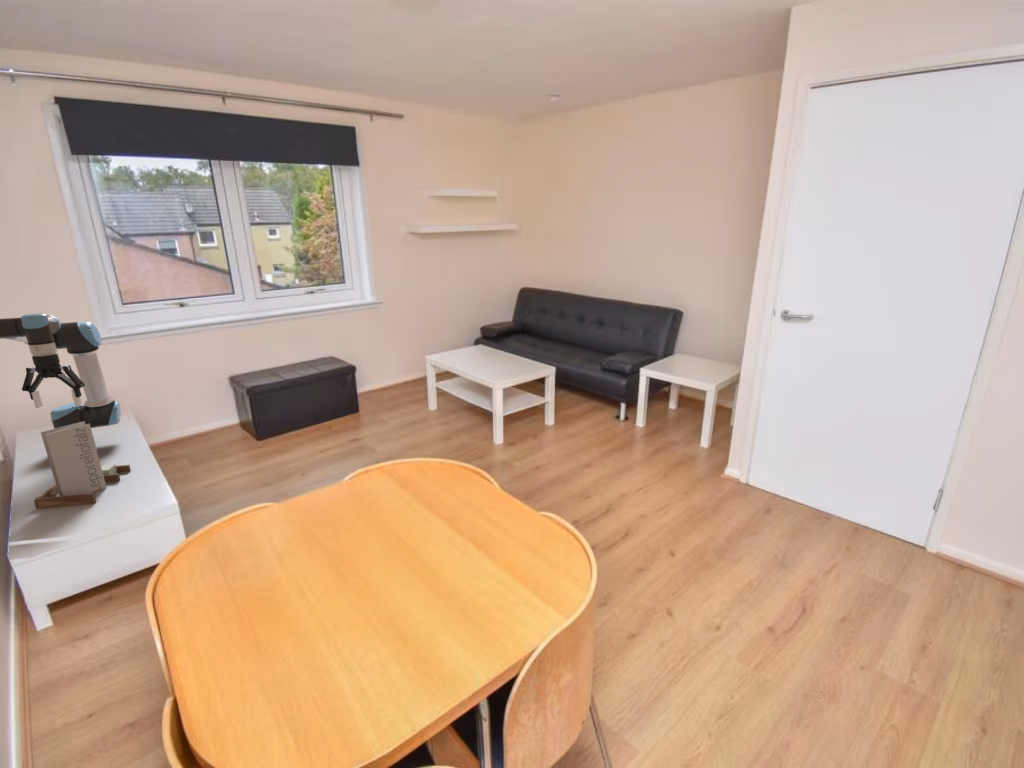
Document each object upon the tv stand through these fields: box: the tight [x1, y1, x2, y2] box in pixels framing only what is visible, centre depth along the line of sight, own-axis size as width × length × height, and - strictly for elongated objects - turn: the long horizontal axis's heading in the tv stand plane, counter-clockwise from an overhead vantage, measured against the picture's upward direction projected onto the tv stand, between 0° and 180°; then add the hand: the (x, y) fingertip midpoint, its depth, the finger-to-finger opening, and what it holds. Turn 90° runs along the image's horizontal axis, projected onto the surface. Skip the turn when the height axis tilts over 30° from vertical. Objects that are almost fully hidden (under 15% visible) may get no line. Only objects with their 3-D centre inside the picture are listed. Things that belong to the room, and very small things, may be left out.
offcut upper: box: [101, 464, 117, 475], centre depth 222 cm, size 6×12×3 cm, turn 102°
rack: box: [33, 464, 132, 510], centre depth 214 cm, size 28×21×4 cm
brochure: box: [40, 421, 108, 496], centre depth 206 cm, size 14×6×30 cm, turn 148°
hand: (59, 406), depth 199 cm, fingers open, 13 cm apart
